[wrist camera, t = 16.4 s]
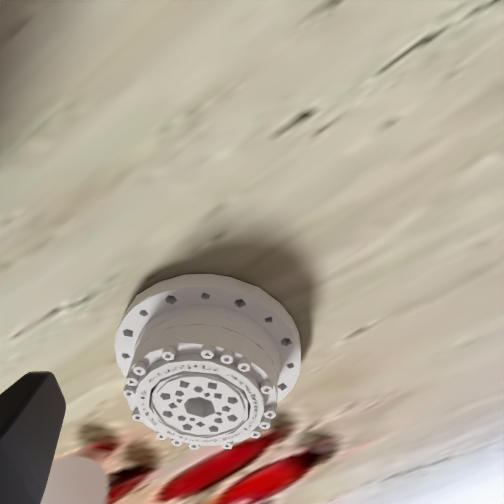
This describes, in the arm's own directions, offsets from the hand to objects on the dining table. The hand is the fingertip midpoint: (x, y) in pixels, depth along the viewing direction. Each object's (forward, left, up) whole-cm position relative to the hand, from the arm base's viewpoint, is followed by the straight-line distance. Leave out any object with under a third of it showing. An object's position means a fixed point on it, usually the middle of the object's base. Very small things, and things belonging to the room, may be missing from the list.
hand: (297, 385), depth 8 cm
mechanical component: (-5, -12, -14) cm, 19 cm away
